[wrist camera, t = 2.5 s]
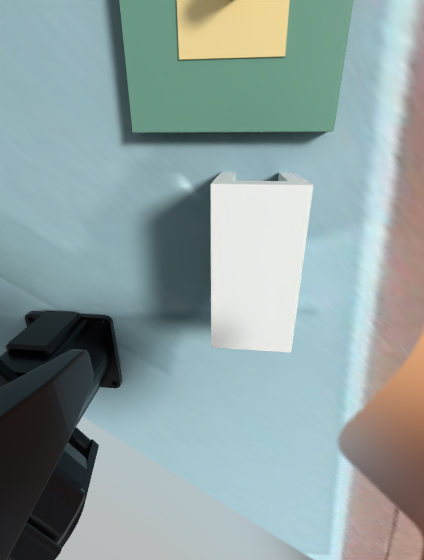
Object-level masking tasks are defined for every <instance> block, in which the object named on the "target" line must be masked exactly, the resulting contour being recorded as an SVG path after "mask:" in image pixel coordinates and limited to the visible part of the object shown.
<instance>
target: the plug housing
mask: <svg viewBox="0 0 424 560" xmlns="http://www.w3.org/2000/svg"><path fill="white" fill-rule="evenodd" d="M312 192H313V184H311V183H309V182H308V181H306V180H305V179H303V178H301V177H300V176H298V175H297V174H295V173H285V172H279V177H278V181H235V172H221V173H220V174H219V175H218V176H217V177H216V179H215V180H214V181H213V182H212V183H211V347H214V348H230V349H245V350H261V351H276V352H291V350H292V342H293V335H294V327H295V320H296V312H297V305H298V297H299V290H300V282H301V275H302V267H303V260H304V252H305V244H306V237H307V229H308V222H309V214H310V207H311V199H312Z"/></svg>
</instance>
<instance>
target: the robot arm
mask: <svg viewBox="0 0 424 560" xmlns="http://www.w3.org/2000/svg"><path fill="white" fill-rule="evenodd" d="M32 317H33V318H34V319H35V320H34V319H33V318H32ZM25 321H26V324H27V328H26V329H25V330H23V331H22V332H21V333H20V334H19V335H17V336H16V337H15V338H14V339H13V340H11V341H10V342H9V343H8V344H7V346H6V349H7V351H6V352H5V353H4V354H2V355H1V356H0V560H55V559H56V557H57V556H58V555H59V554H60V552H61V549H62V547H63V546H64V544H65V543H66V541H67V540H68V538H69V537H70V535H71V534H72V532H73V530H74V528H75V527H76V525H77V523H78V520H79V518H80V516H81V513H82V511H83V508H84V504H85V500H86V496H87V492H88V487H89V484H90V479H91V475H92V471H93V467H94V463H95V459H96V454H97V451H98V446H99V445H98V444H97V443H96V442H95V441H94V440H90V439H89V438H88V437H87V436H85V435H84V434H83V433H82V432H81V431H80V430H79V429H78V428H77V427H76V426H77V424H78V422H79V421H80V419H81V417H82V416H83V414H84V412H85V411H86V409H87V408H88V406H89V404H90V403H91V401H92V399H93V398H94V396H95V394H96V393H97V391H98V389H99V388H100V387H108V388H118V387H120V385H121V383H122V375H121V369H120V363H119V357H118V351H117V345H116V339H115V332H114V326H113V321H112V319H111V318H110V317H109V316H106V315H92V314H80V313H76V312H58V311H46V312H39V311H31V312H30V313H28V314H27V315H26V316H25ZM103 321H105V322H106V323H107V324H105V323H103ZM115 381H116V382H115Z"/></svg>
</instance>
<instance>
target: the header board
mask: <svg viewBox="0 0 424 560" xmlns="http://www.w3.org/2000/svg"><path fill="white" fill-rule="evenodd" d="M119 3H120V13H121V23H122V33H123V43H124V53H125V63H126V73H127V83H128V93H129V103H130V113H131V123H132V132H135V133H231V132H331V131H334V126H335V119H336V112H337V106H338V99H339V92H340V85H341V79H342V72H343V65H344V59H345V52H346V45H347V38H348V32H349V25H350V18H351V12H352V5H353V0H119Z"/></svg>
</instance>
